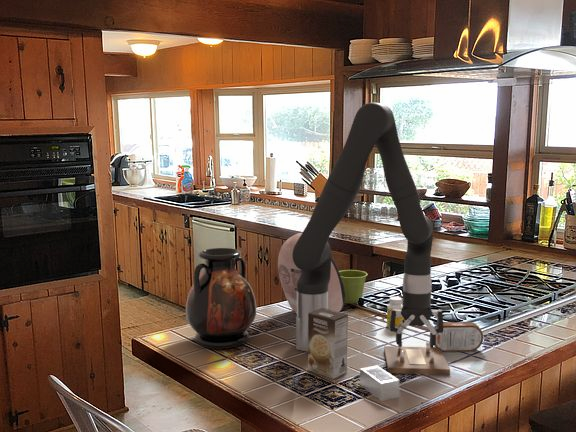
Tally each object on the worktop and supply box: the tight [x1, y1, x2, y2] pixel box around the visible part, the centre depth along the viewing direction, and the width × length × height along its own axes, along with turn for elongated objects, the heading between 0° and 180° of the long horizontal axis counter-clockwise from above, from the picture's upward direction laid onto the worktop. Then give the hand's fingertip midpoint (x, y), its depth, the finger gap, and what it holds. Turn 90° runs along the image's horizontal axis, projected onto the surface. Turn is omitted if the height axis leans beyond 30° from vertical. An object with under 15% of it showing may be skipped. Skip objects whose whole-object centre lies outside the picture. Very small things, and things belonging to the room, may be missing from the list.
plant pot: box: [339, 269, 369, 304], centre depth 219 cm, size 12×12×11 cm
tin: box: [433, 321, 484, 353], centre depth 170 cm, size 15×3×8 cm, turn 91°
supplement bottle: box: [386, 296, 404, 329], centre depth 191 cm, size 5×5×10 cm
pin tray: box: [383, 341, 451, 376], centre depth 162 cm, size 16×16×4 cm
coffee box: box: [307, 308, 349, 380], centre depth 155 cm, size 9×6×16 cm
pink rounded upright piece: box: [277, 232, 346, 314], centre depth 201 cm, size 22×20×30 cm
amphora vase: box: [185, 247, 257, 350], centre depth 179 cm, size 22×22×28 cm
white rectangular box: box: [359, 365, 400, 402], centre depth 144 cm, size 5×10×5 cm, turn 23°
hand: (415, 346), depth 161 cm, fingers open, 8 cm apart
